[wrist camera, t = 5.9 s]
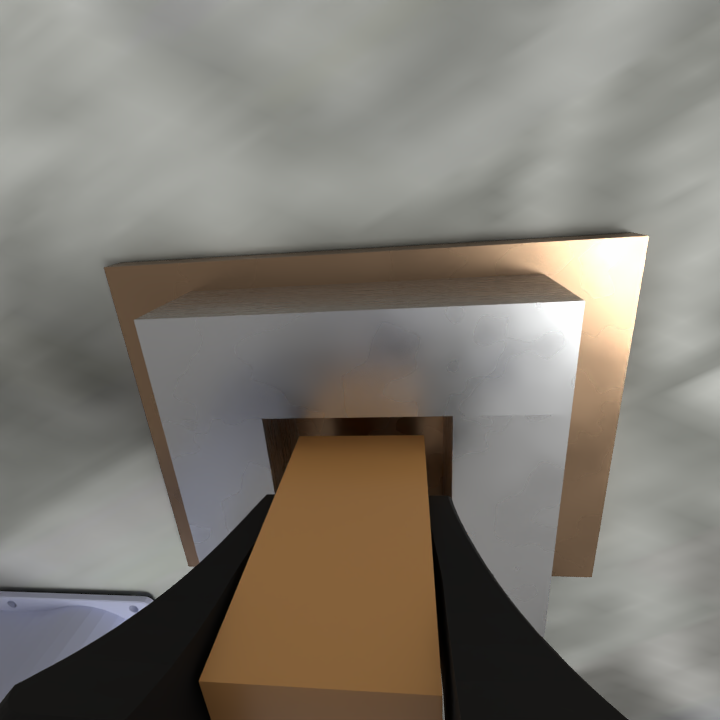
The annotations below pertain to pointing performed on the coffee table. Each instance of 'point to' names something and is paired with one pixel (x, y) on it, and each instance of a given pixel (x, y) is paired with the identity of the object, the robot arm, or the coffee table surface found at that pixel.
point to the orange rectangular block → (336, 593)
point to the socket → (396, 381)
